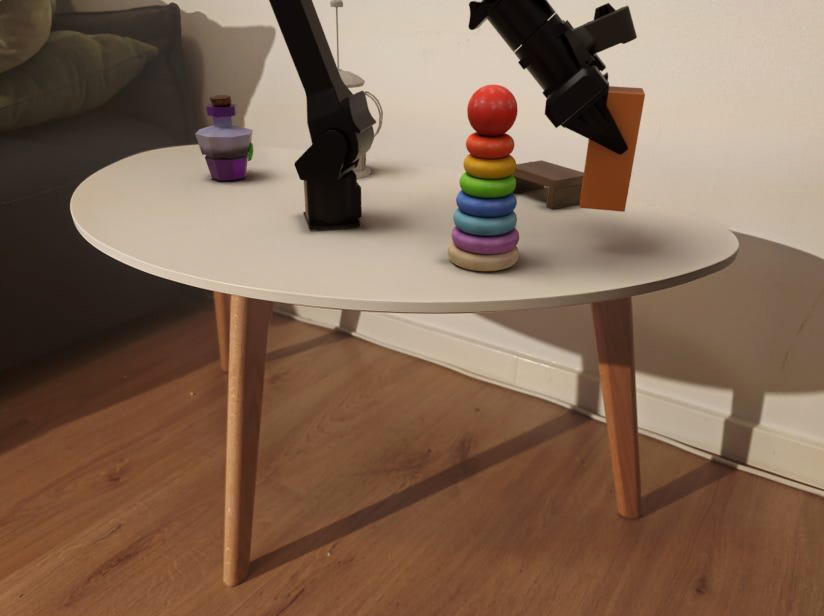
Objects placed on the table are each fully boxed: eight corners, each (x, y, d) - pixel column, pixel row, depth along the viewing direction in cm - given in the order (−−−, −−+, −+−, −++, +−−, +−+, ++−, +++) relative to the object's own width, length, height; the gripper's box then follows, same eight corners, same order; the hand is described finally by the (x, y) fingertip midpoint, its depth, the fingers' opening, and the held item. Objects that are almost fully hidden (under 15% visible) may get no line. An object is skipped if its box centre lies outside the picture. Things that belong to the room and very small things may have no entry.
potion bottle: (264, 181, 107) (257, 98, 101) (206, 187, 103) (196, 101, 97) (249, 168, 113) (242, 90, 108) (195, 173, 110) (184, 92, 104)
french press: (319, 163, 118) (312, -4, 106) (387, 166, 117) (387, -2, 105) (303, 177, 109) (293, -3, 97) (376, 181, 108) (375, 0, 96)
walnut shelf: (552, 209, 97) (555, 180, 95) (504, 192, 104) (506, 165, 102) (587, 202, 101) (591, 174, 99) (538, 186, 108) (541, 160, 106)
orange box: (579, 207, 79) (596, 91, 73) (580, 196, 84) (596, 85, 78) (624, 211, 79) (645, 94, 73) (623, 200, 83) (642, 88, 77)
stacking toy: (443, 249, 82) (450, 78, 73) (509, 248, 83) (525, 79, 74) (452, 274, 75) (462, 89, 66) (525, 273, 76) (544, 90, 67)
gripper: (597, -28, 63) (699, 109, 66) (597, -26, 79) (679, 84, 82) (502, 62, 68) (601, 185, 71) (520, 47, 84) (600, 148, 87)
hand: (623, 146), depth 78 cm, fingers closed on orange box, 5 cm apart
